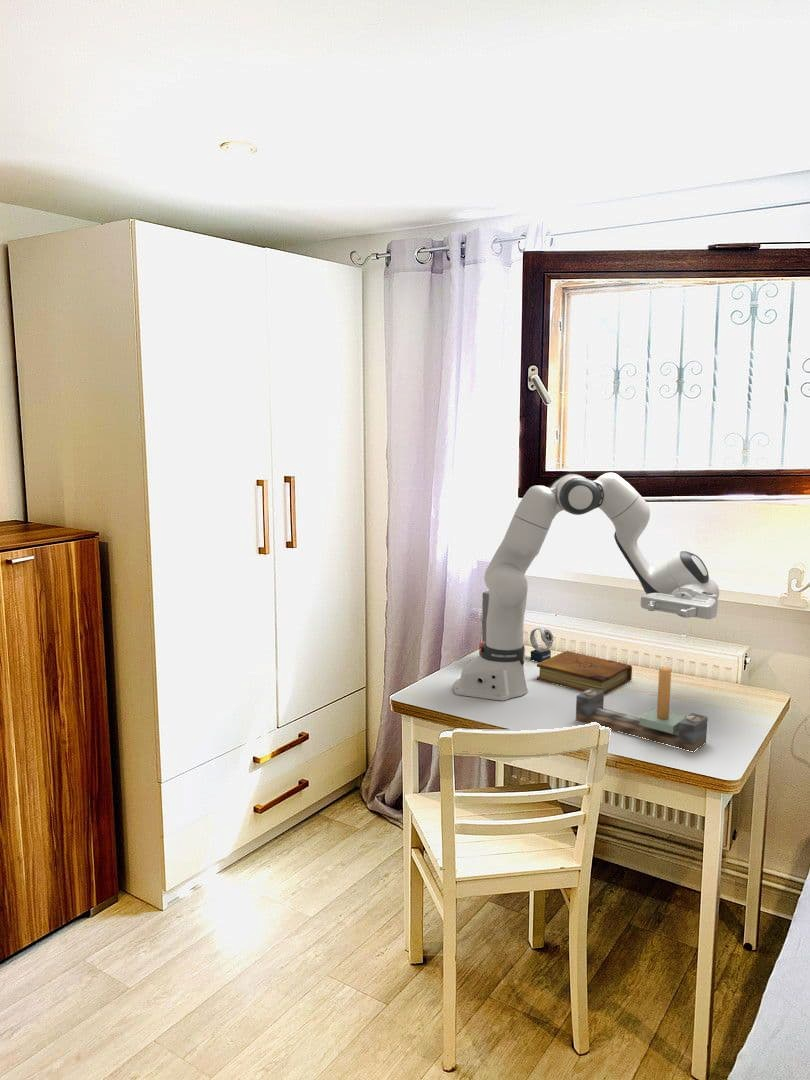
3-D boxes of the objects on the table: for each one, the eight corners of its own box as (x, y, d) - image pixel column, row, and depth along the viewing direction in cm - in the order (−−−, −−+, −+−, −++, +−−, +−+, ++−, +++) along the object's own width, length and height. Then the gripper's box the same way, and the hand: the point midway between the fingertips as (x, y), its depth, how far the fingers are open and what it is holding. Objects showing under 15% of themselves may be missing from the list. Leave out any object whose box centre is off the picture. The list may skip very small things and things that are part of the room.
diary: (631, 682, 259) (632, 664, 258) (602, 698, 245) (603, 679, 244) (567, 666, 274) (567, 649, 273) (536, 680, 260) (536, 663, 259)
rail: (575, 720, 227) (576, 694, 225) (590, 711, 233) (590, 686, 231) (693, 752, 205) (695, 724, 204) (706, 742, 211) (707, 715, 210)
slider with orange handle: (639, 724, 214) (641, 669, 212) (652, 716, 220) (655, 661, 217) (672, 733, 208) (675, 676, 206) (685, 724, 214) (688, 668, 212)
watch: (546, 664, 275) (546, 632, 273) (526, 659, 280) (526, 627, 278) (555, 660, 279) (556, 628, 277) (535, 655, 284) (536, 624, 282)
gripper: (652, 585, 241) (631, 593, 231) (723, 595, 228) (703, 605, 217) (651, 606, 242) (630, 615, 232) (721, 618, 229) (702, 628, 218)
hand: (666, 610), depth 224 cm, fingers open, 8 cm apart
